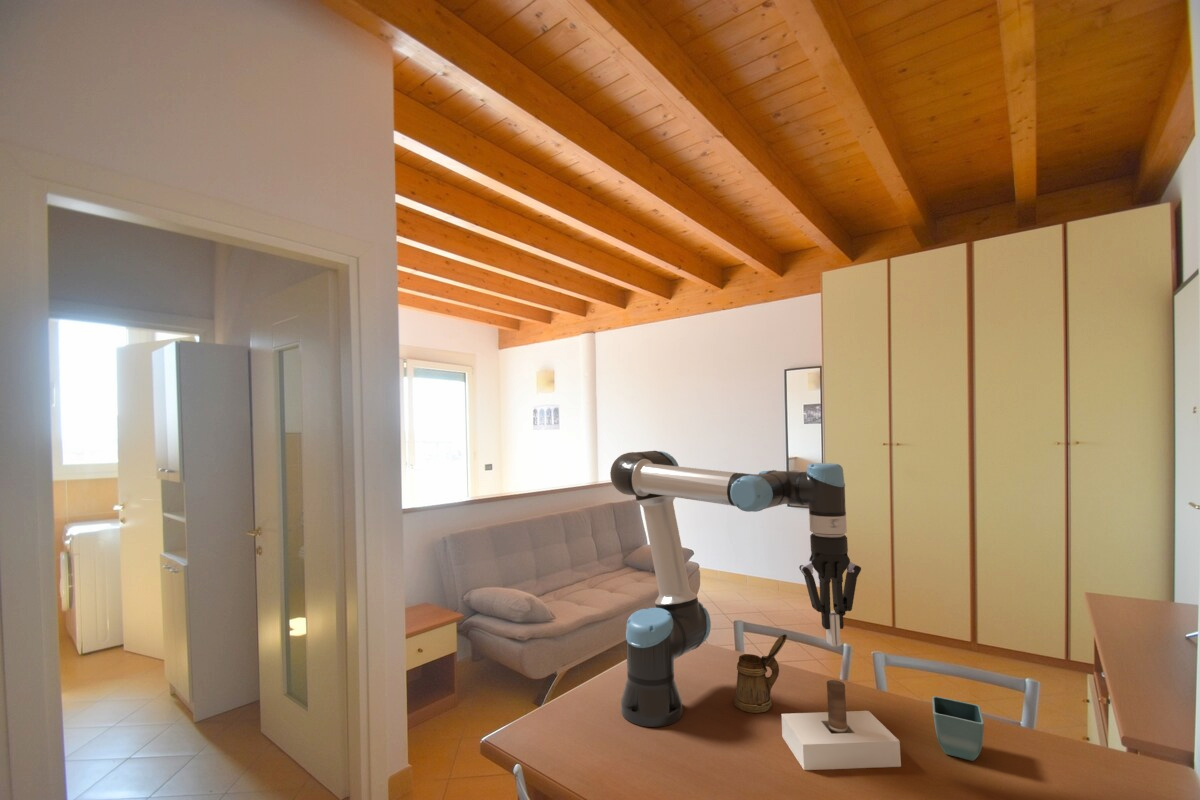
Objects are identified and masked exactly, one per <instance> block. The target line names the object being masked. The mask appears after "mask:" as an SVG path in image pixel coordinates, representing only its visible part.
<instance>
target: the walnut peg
mask: <svg viewBox="0 0 1200 800" xmlns="http://www.w3.org/2000/svg"><path fill="white" fill-rule="evenodd" d="M826 692H827V693H826V694H827V712H828V720H829V731H830V733H831V734H836V733H847V718H846V712H847V706H846V705H847V704H846V703H847V701H846V700H847V699H846V698H847V697H846V684H845V683H844V682H842V681H839V680H835V679H830V680H827V681H826Z"/></svg>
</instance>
